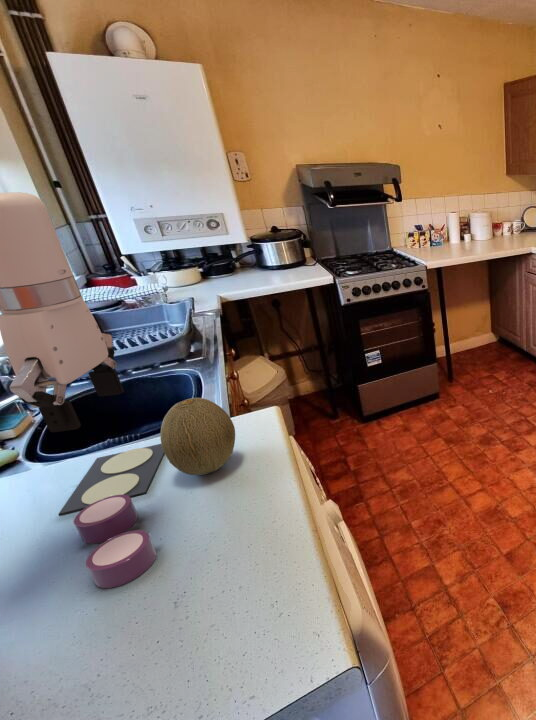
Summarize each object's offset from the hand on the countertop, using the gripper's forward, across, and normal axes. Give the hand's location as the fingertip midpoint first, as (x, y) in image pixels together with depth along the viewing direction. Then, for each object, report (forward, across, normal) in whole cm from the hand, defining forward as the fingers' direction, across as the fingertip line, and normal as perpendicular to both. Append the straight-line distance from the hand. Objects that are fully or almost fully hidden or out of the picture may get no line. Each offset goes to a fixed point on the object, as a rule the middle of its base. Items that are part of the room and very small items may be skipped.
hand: (90, 410), depth 62 cm
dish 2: (+22, +7, +1) cm, 24 cm away
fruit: (+23, -15, +4) cm, 27 cm away
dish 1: (+22, -3, -6) cm, 23 cm away
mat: (+22, -17, -12) cm, 31 cm away
